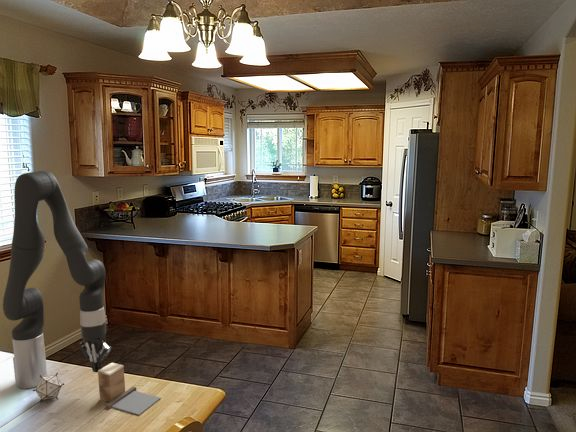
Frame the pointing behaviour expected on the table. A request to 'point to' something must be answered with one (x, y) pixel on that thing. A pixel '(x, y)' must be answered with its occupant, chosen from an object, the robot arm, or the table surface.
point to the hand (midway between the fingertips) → (96, 371)
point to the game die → (48, 387)
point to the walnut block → (111, 381)
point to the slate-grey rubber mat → (136, 402)
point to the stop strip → (120, 397)
